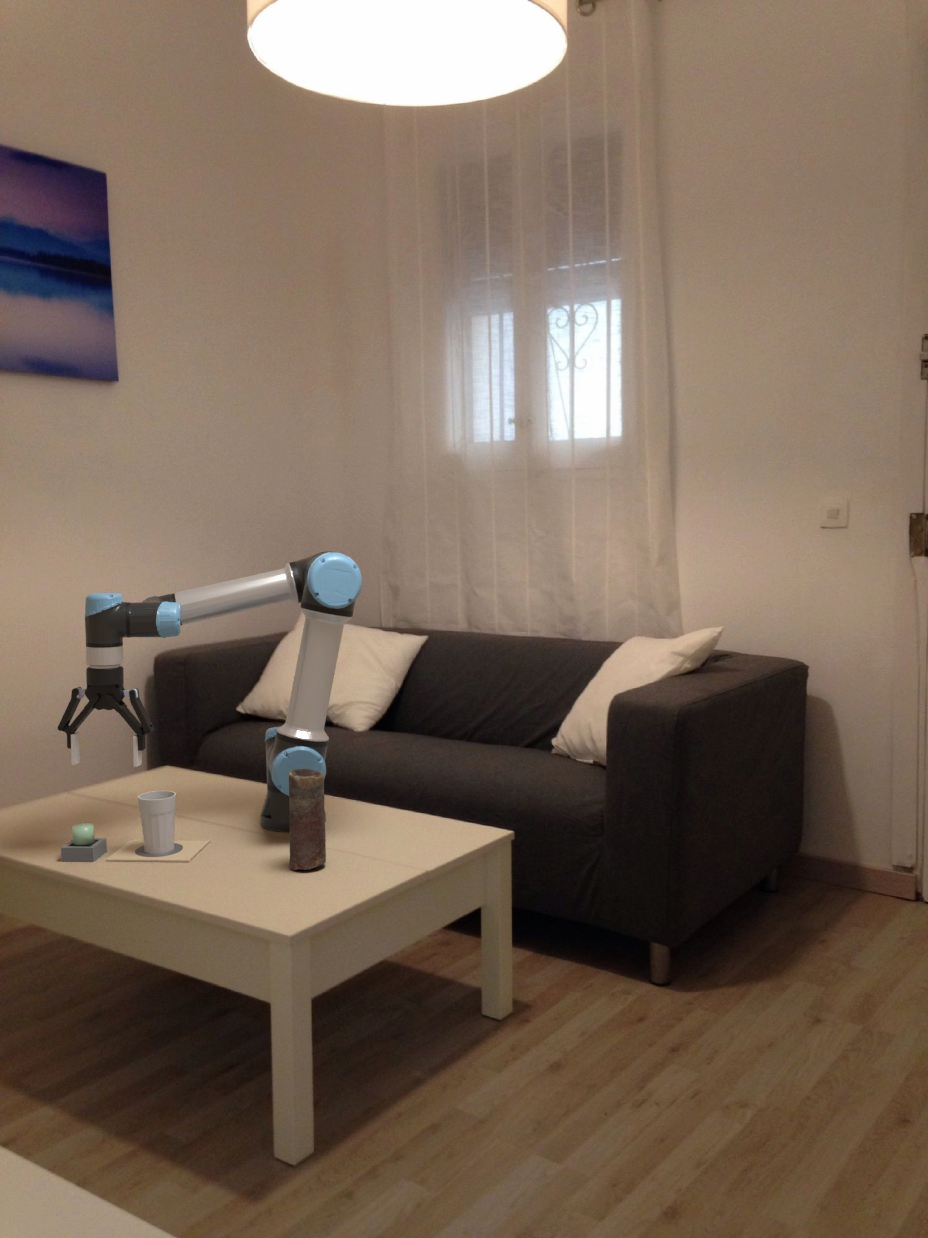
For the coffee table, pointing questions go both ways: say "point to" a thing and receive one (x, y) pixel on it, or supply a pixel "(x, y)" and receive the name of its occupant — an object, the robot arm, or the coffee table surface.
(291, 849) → the brown tall cylinder
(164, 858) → the sheet
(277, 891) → the coffee table surface
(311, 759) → the robot arm
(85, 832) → the button
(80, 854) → the button housing
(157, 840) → the cup
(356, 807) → the coffee table surface
